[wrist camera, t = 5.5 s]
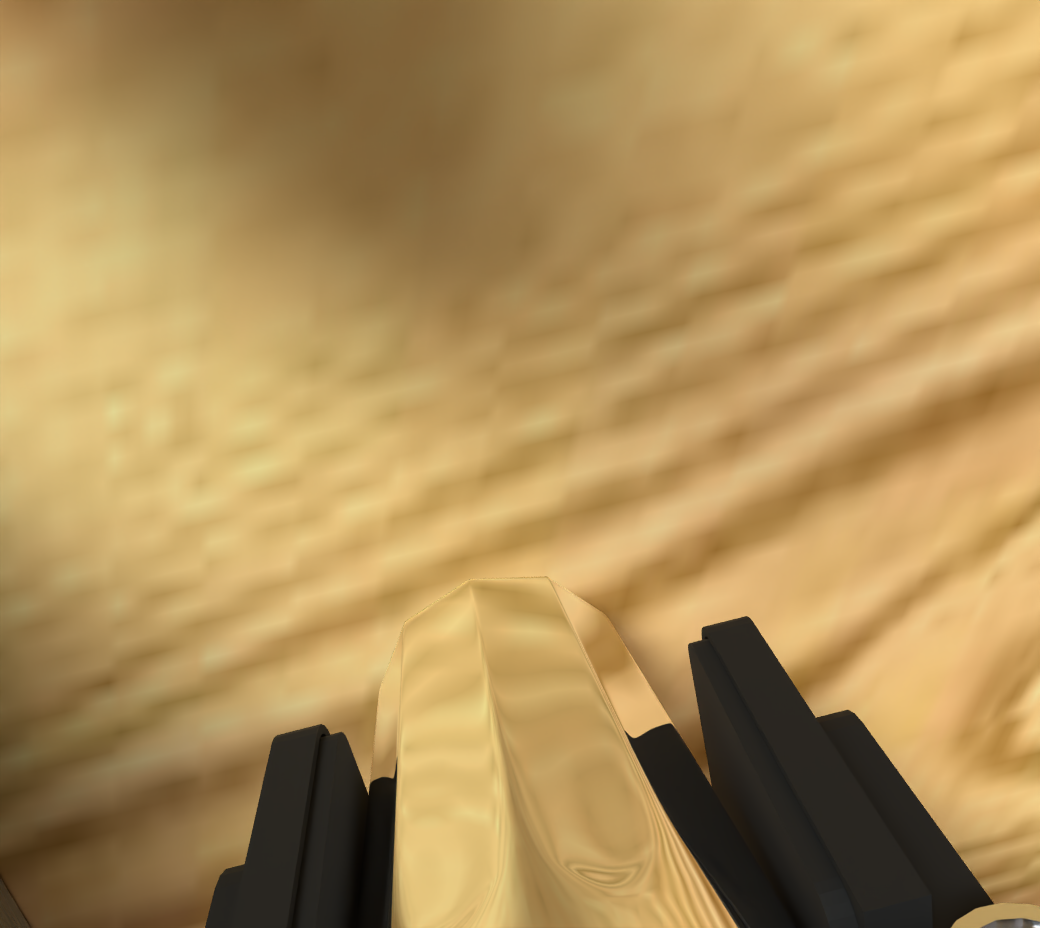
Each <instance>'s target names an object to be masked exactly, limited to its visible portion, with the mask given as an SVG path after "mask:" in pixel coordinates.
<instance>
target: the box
mask: <svg viewBox="0 0 1040 928" xmlns="http://www.w3.org/2000/svg"><path fill="white" fill-rule="evenodd" d="M0 928H30V926H29V924H28V923H27V921H26V919H25V918H24V916H23V914H22V913H21V911H20V909H19V908H18V906H17V904H16V903H15V901H14V899H13V898H12V896H11V894H10V893H9V891H8V889H7V888H6V886H5V885H4V883H3V881H2V880H1V878H0Z"/></svg>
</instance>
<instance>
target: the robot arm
mask: <svg viewBox="0 0 1040 928" xmlns="http://www.w3.org/2000/svg"><path fill="white" fill-rule="evenodd" d="M688 650H689V657H690V663H691V668H692V674H693V680H694V686H695V691H696V697H697V703H698V709H699V714H700V720H701V726H702V731H703V737H704V743H705V749H706V754H707V760H708V766H709V771H710V777H711V783H712V788H713V790H714V792H715V793H716V795H717V797H718V798H719V800H720V801H721V803H722V805H723V806H724V808H725V810H726V811H727V813H728V815H729V816H730V818H731V820H732V821H733V823H734V824H735V826H736V828H737V829H738V831H739V833H740V834H741V836H742V838H743V839H744V841H745V843H746V844H747V846H748V848H749V849H750V851H751V852H752V854H753V856H754V857H755V859H756V861H757V862H758V864H759V866H760V867H761V869H762V871H763V872H764V874H765V876H766V877H767V879H768V881H769V882H770V884H771V886H772V887H773V889H774V891H775V892H776V894H777V896H778V897H779V899H780V900H781V902H782V904H783V905H784V907H785V909H786V910H787V912H788V914H789V915H790V917H791V918H792V920H793V922H794V923H795V925H796V926H797V928H1040V906H1036V905H1032V904H1019V903H998V904H994V903H993V902H992V900H991V899H990V898H989V896H988V895H987V893H986V892H985V891H984V889H983V888H982V887H981V885H980V884H979V882H978V881H977V880H976V878H975V877H974V876H973V874H972V873H971V871H970V870H969V869H968V867H967V866H966V864H965V863H964V862H963V860H962V859H961V858H960V856H959V855H958V853H957V852H956V851H955V849H954V848H953V847H952V845H951V844H950V842H949V841H948V840H947V838H946V837H945V836H944V834H943V833H942V831H941V830H940V829H939V827H938V826H937V825H936V823H935V822H934V820H933V819H932V818H931V816H930V815H929V813H928V812H927V811H926V809H925V808H924V807H923V805H922V804H921V802H920V801H919V800H918V798H917V797H916V796H915V794H914V793H913V791H912V790H911V789H910V787H909V786H908V785H907V783H906V782H905V780H904V779H903V778H902V776H901V775H900V773H899V772H898V771H897V769H896V768H895V767H894V765H893V764H892V762H891V761H890V760H889V758H888V757H887V756H886V754H885V753H884V751H883V750H882V749H881V747H880V746H879V745H878V743H877V742H876V740H875V739H874V738H873V736H872V735H871V733H870V732H869V731H868V729H867V728H866V727H865V725H864V724H863V722H862V721H861V720H860V719H859V718H858V717H857V716H856V715H855V713H853V712H851V711H849V710H845V711H841V712H837V713H833V714H829V715H825V716H821V717H817V718H815V716H814V714H813V713H812V711H811V710H810V708H809V707H808V705H807V704H806V702H805V701H804V699H803V698H802V696H801V695H800V693H799V692H798V690H797V688H796V687H795V685H794V684H793V682H792V681H791V679H790V678H789V676H788V675H787V673H786V672H785V670H784V669H783V667H782V666H781V664H780V662H779V661H778V659H777V658H776V656H775V655H774V653H773V652H772V650H771V649H770V647H769V646H768V644H767V643H766V641H765V640H764V638H763V636H762V635H761V633H760V632H759V630H758V629H757V627H756V626H755V624H754V623H753V621H752V620H751V619H750V618H749V617H747V616H745V617H741V618H737V619H733V620H729V621H726V622H722V623H718V624H714V625H710V626H706V627H703V628H702V640H701V641H697V642H693V643H689V645H688ZM368 796H369V795H368V793H367V790H366V787H365V785H364V782H363V779H362V777H361V774H360V771H359V769H358V766H357V764H356V761H355V758H354V756H353V753H352V750H351V748H350V745H349V742H348V740H347V738H346V736H345V735H344V733H342V732H339V733H336V734H332V735H330V733H329V731H328V729H327V728H326V727H325V725H322V724H320V725H316V726H312V727H308V728H304V729H300V730H296V731H292V732H289V733H285V734H281V735H277V736H276V737H275V738H274V739H273V742H272V745H271V750H270V754H269V759H268V763H267V767H266V772H265V776H264V781H263V785H262V790H261V794H260V799H259V803H258V808H257V812H256V816H255V821H254V825H253V830H252V834H251V839H250V843H249V848H248V852H247V857H246V861H245V864H244V865H240V866H236V867H232V868H228V869H226V870H225V871H224V872H223V873H222V874H221V875H220V877H219V880H218V882H217V885H216V888H215V891H214V895H213V899H212V903H211V907H210V911H209V915H208V918H207V922H206V926H205V928H355V925H356V915H357V905H358V895H359V885H360V875H361V866H362V856H363V846H364V836H365V826H366V816H367V806H368Z"/></svg>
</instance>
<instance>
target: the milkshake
mask: <svg viewBox="0 0 1040 928" xmlns="http://www.w3.org/2000/svg"><path fill="white" fill-rule="evenodd" d="M355 928H797V926H796V925H795V923H794V922H793V920H792V918H791V917H790V915H789V914H788V912H787V910H786V909H785V907H784V905H783V904H782V902H781V900H780V899H779V897H778V896H777V894H776V892H775V891H774V889H773V887H772V886H771V884H770V882H769V881H768V879H767V877H766V876H765V874H764V872H763V871H762V869H761V867H760V866H759V864H758V862H757V861H756V859H755V857H754V856H753V854H752V852H751V851H750V849H749V848H748V846H747V844H746V843H745V841H744V839H743V838H742V836H741V834H740V833H739V831H738V829H737V828H736V826H735V824H734V823H733V821H732V820H731V818H730V816H729V815H728V813H727V811H726V810H725V808H724V806H723V805H722V803H721V801H720V800H719V798H718V797H717V795H716V793H715V792H714V790H713V788H712V787H711V785H710V783H709V782H708V780H707V778H706V777H705V775H704V774H703V772H702V770H701V769H700V767H699V765H698V764H697V762H696V760H695V759H694V757H693V756H692V754H691V752H690V751H689V749H688V747H687V746H686V744H685V742H684V741H683V739H682V738H681V736H680V734H679V733H678V731H677V729H676V728H675V726H674V724H673V723H672V721H671V720H670V718H669V716H668V715H667V713H666V711H665V710H664V708H663V706H662V705H661V703H660V702H659V700H658V698H657V697H656V695H655V693H654V692H653V690H652V688H651V687H650V685H649V684H648V682H647V680H646V679H645V677H644V675H643V674H642V672H641V670H640V669H639V667H638V666H637V664H636V662H635V661H634V659H633V657H632V656H631V654H630V652H629V651H628V649H627V648H626V646H625V644H624V643H623V641H622V639H621V638H620V636H619V634H618V633H617V631H616V630H615V628H614V626H613V625H612V623H611V622H610V620H609V619H608V617H607V616H606V615H605V614H604V613H603V612H601V611H600V610H598V609H596V608H595V607H593V606H592V605H590V604H589V603H587V602H585V601H584V600H582V599H581V598H579V597H578V596H576V595H575V594H573V593H571V592H570V591H568V590H567V589H565V588H564V587H562V586H561V585H559V584H558V583H556V582H555V581H553V580H552V579H550V578H549V577H546V576H544V577H519V578H488V579H469V580H467V581H466V582H464V583H463V584H461V585H460V586H458V587H457V588H455V589H454V590H452V591H451V592H449V593H448V594H446V595H445V596H443V597H442V598H440V599H439V600H437V601H436V602H434V603H433V604H431V605H430V606H428V607H426V608H425V609H423V610H422V611H420V612H419V613H417V614H416V615H414V616H413V617H411V618H410V619H408V620H407V621H405V623H404V625H403V628H402V631H401V633H400V636H399V639H398V641H397V644H396V647H395V649H394V652H393V655H392V657H391V660H390V663H389V665H388V668H387V671H386V673H385V676H384V678H383V681H382V684H381V686H380V691H379V699H378V708H377V718H376V727H375V737H374V747H373V757H372V767H371V777H370V786H369V796H368V806H367V816H366V826H365V836H364V846H363V856H362V866H361V875H360V885H359V895H358V905H357V915H356V925H355Z"/></svg>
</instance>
